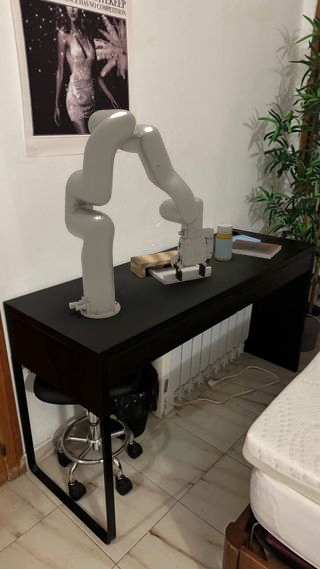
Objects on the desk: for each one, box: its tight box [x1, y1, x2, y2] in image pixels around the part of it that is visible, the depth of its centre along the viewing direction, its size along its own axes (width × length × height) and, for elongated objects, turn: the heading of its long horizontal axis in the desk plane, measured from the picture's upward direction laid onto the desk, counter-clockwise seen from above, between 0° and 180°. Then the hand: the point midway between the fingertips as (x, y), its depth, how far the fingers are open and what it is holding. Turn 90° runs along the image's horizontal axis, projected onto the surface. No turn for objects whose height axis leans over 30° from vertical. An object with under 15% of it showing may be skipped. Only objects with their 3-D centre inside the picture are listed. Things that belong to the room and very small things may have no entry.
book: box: [232, 239, 282, 260], centre depth 189 cm, size 16×2×22 cm
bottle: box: [214, 222, 234, 262], centre depth 175 cm, size 7×7×15 cm
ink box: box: [202, 222, 215, 254], centre depth 187 cm, size 9×9×12 cm
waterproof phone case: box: [232, 234, 262, 243], centre depth 205 cm, size 14×12×1 cm
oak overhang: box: [130, 250, 207, 279], centre depth 166 cm, size 30×10×6 cm, turn 116°
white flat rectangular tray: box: [148, 264, 212, 286], centre depth 160 cm, size 20×14×4 cm
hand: (190, 277), depth 153 cm, fingers open, 9 cm apart
